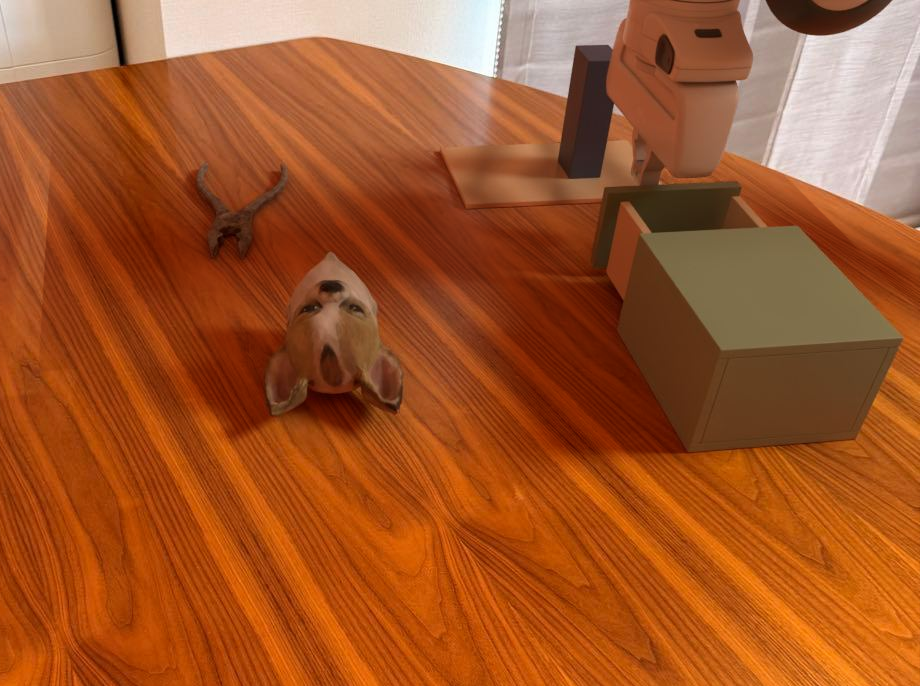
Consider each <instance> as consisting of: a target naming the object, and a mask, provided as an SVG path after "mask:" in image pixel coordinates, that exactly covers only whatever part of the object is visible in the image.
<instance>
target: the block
mask: <svg viewBox="0 0 920 686" xmlns="http://www.w3.org/2000/svg"><path fill="white" fill-rule="evenodd" d="M612 50H613V47H611V46H610V45H609V44H581V45H578V44H577V45H575V48H574V54H573V61H572V65H571V66H572V67H571V73H570V79H569V86H568V92H567V100H566V106H565V112H564V118H563V125H562V130H561V135H560V136H561V137H560V142H559V143H560V149H559V156H558V162H559V164H560V165H561V167H562V169H563V170H564V172H565V173H566V175H567V176H568V178H569V179H578V178H600V176H601V171H602V165H603V160H604V155H605V150H606V144H607V141H608V139H609V133H610V128H611V123H612V118H613V112H614V106H615V104H614V103H613V101H612V100H611V99H610V98H609V97H608V95H607V92H606V77H607V72H608V67H609V63H610V59H611V54H612Z"/></svg>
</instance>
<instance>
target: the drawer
mask: <svg viewBox="0 0 920 686" xmlns="http://www.w3.org/2000/svg"><path fill="white" fill-rule="evenodd" d="M742 188H743V186H742V184H740V183H739V182H738V181H737V180H732V181H731V180H730V181H729V180H727V181H709V182H708V181H707V182H687V183H686V182H685V183H664V184H663V183H662V184H661V185H639V186H617V187H604V192H603V197H602V202H600V207H599V213H598V217H597V223H596V224H597V225H596V229H595V234H594V239H593V242H592V243H593V244H592V248H591V254H590V259H589V263H590V265H591V266H592V268H593V269H606V270H605V273H606V275H607V276H608V278H609V280H610V281H611V283H612V285H613V286H614V287H615V290H616V291H617V293H618V294H619V296H620V297H621V299H622V302H624V298H625V293H626V289H627V284H628V280H629V276H630V271H631V267H632V263H633V258H634V254H635V249H636V245H637V241H638V237H639V234H642V233H661V232H681V231H700V230H720V229H739V228H758V227H768V225H767V224H766V223H765V222H764V221H763V220H762V219H761V218H760V216H759V215H758V214H757V213H756V212H755V211H754V210H753V209H752V207H751V206H750V205H749V204H748V203H747V202H746V201H745V200H744V199H743V198H742V197H741V192H742Z"/></svg>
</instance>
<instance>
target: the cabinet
mask: <svg viewBox="0 0 920 686" xmlns="http://www.w3.org/2000/svg"><path fill="white" fill-rule="evenodd" d="M616 332H617V334H618V335H619V337H620V340H622V342H623V345H624V346H625V347H626V349H627V351H628V352H629V354H630V356H631V358H632V359H633V361H634V364H635V365H636V366H637V368H638V370H639V372H640V373H641V375H642V377H643V379H644V380H645V382H646V384H647V385H648V387H649V389H650V391H651V392H652V394H653V396H654V397H655V399H656V401H657V402H658V404H659V406H660V408H661V410H662V411H663V413H664V415H665V416H666V418H667V419H668V422H669V423H670V424H671V427H672V428H673V430H674V432H675V433H676V436H677V437H678V439H679V440H680V442H681V444H682V445H683V447H684V449H685V450H686V452H687V453H688V454H689V453H699V452H712V451H724V450H737V449H747V448H748V449H749V448H750V449H751V448H761V447H762V448H763V447H773V446H786V445H797V444H798V445H799V444H811V443H822V442H823V443H824V442H837V441H848V440H857V438H858V437H859V433H860V431H861V429H862V427H863V426H864V423H865V421H866V419H867V417H868V414H869V412H870V410H871V408H872V406H873V405H874V402H875V400H876V398H877V396H878V393H879V391H880V389H881V387H882V385H883V383H884V380H885V379H886V377H887V374H888V372H889V371H890V368H891V366H892V364H893V362H894V360H895V357H896V356H897V353H898V352H899V350H900V347H901V345H902V343H903V340H904V336H903V335H902V334H901V333H900V332H899V331H898V330H897V329H896V327H894V326H893V325H892V323H890V322H889V320H888V319H887V318H886V317H885V316H884V315H883V314H882V313H881V312H880V311H879V310H878V309H877V308H876V306H874V305H873V303H872V302H871V301H870V300H869V299H868V298H867V297H866V296H865V295H864V293H862V292H861V290H859V289H858V288H857V286H855V285H854V283H853V282H852V281H851V280H850V279H849V278H848V277H847V276H846V274H844V273H843V271H841V269H839V267H838V266H837V265H836V264H835V263H834V262H833V261H832V260H831V258H829V257H828V256H827V255H826V254H825V253H824V252H823V251H822V250H821V248H819V246H818V245H817V244H816V243H815V242H814V241H813V240H812V239H811V238H810V237H809V236H808V235H807V234H806V233H805V232H804V230H802V229H801V227H799V225H781V226H767V227H758V228H739V229H720V230H700V231H681V232H661V233H642V234H639V237H638V241H637V245H636V249H635V254H634V258H633V263H632V267H631V271H630V276H629V280H628V284H627V289H626V293H625V298H624V301H622V307H621V311H620V315H619V320H618V324H617V329H616Z"/></svg>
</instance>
